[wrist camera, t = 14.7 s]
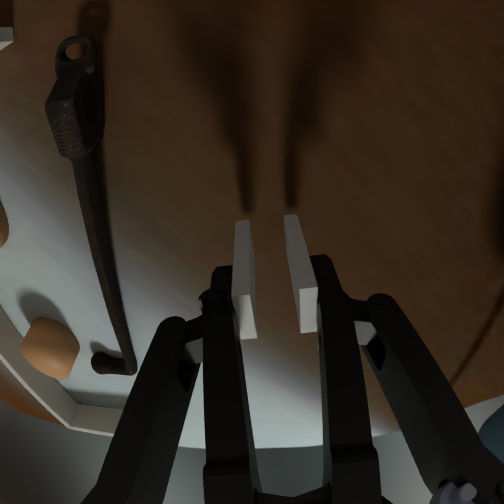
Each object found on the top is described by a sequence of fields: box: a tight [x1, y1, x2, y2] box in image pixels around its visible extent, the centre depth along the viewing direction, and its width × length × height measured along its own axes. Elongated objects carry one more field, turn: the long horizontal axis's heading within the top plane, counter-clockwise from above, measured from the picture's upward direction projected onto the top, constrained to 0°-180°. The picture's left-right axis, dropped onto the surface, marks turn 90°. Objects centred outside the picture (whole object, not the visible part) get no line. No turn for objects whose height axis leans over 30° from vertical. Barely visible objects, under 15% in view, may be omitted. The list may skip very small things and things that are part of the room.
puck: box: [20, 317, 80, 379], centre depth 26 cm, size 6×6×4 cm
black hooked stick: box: [45, 35, 138, 376], centre depth 20 cm, size 5×5×30 cm
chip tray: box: [0, 27, 124, 436], centre depth 22 cm, size 16×44×4 cm, turn 7°
